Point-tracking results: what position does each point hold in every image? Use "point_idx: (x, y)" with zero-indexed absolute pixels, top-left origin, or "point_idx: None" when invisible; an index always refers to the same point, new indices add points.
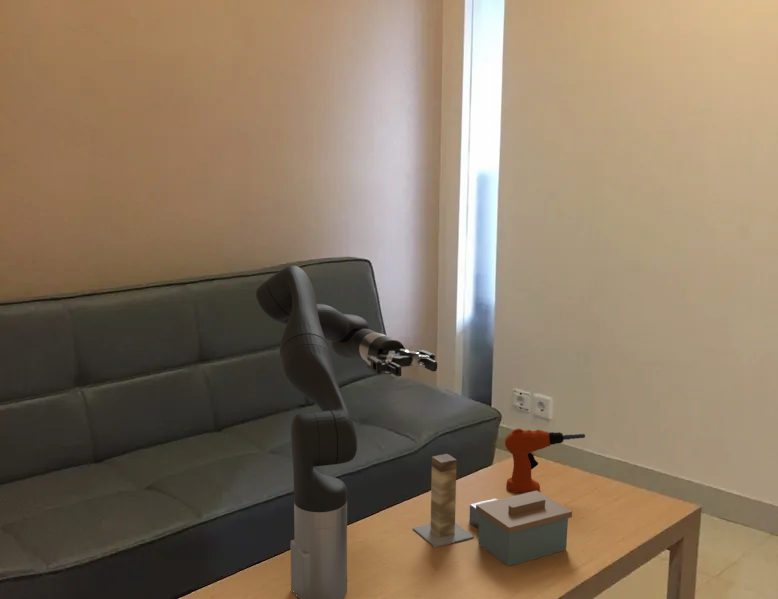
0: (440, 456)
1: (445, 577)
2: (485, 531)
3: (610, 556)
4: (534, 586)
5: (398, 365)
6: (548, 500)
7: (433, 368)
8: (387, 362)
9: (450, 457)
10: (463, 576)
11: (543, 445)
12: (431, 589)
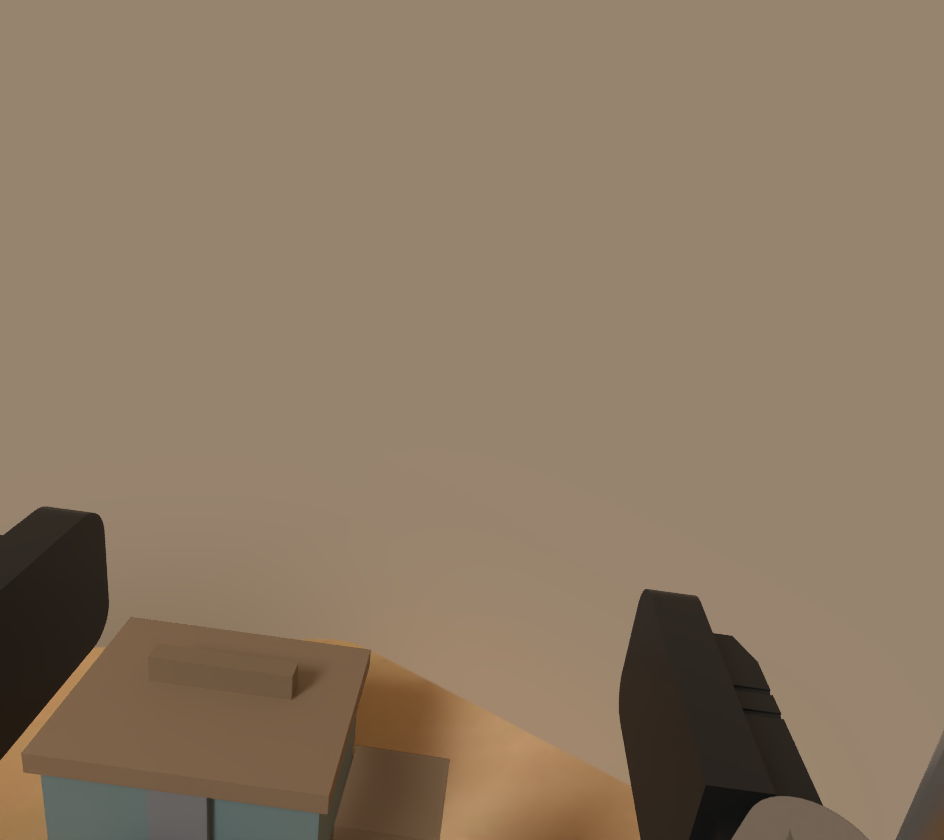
0: (396, 817)
1: (547, 811)
2: (327, 816)
3: (97, 656)
4: (375, 675)
5: (671, 615)
6: (92, 686)
7: (100, 595)
8: (836, 824)
9: (360, 779)
10: (498, 788)
11: None
12: (614, 790)
